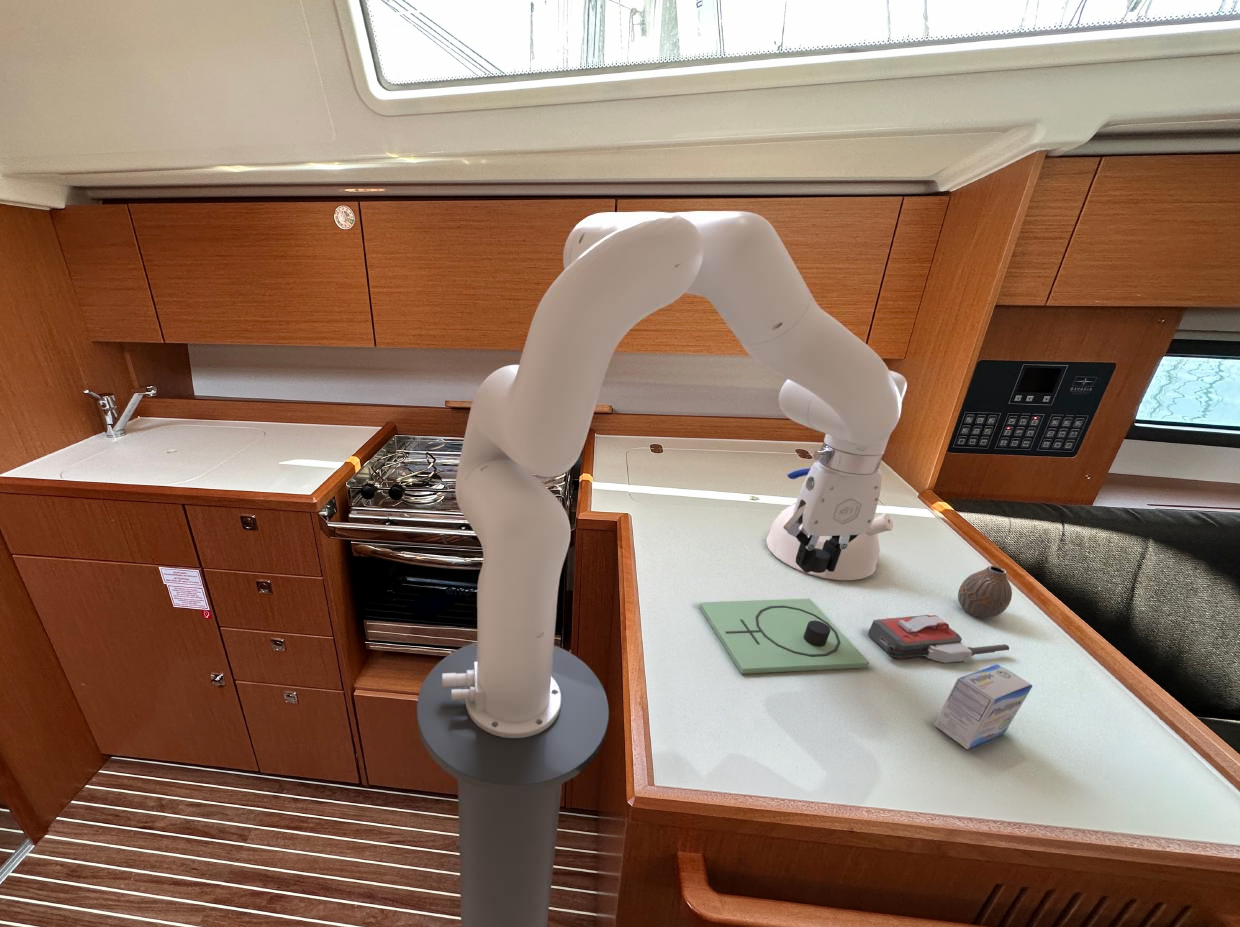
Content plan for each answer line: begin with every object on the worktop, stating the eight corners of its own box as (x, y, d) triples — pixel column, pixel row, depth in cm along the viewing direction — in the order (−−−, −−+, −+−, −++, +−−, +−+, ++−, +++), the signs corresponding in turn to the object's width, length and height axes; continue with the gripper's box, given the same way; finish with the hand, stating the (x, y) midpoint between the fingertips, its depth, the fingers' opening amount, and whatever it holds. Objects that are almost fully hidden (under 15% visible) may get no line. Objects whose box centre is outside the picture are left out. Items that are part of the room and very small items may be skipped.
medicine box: (966, 751, 71) (995, 701, 67) (932, 725, 74) (957, 676, 70) (1005, 734, 73) (1035, 685, 70) (970, 709, 77) (996, 661, 73)
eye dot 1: (810, 573, 86) (815, 559, 84) (799, 562, 88) (803, 548, 87) (829, 572, 86) (834, 558, 85) (818, 561, 89) (822, 547, 88)
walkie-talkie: (898, 671, 83) (1010, 658, 87) (909, 648, 81) (1023, 636, 85) (857, 633, 91) (961, 623, 94) (866, 611, 89) (972, 601, 92)
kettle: (850, 595, 101) (883, 506, 92) (746, 547, 115) (767, 466, 106) (893, 559, 112) (927, 477, 104) (794, 520, 126) (816, 444, 118)
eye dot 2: (810, 647, 86) (815, 634, 85) (799, 633, 89) (803, 620, 88) (830, 646, 86) (834, 633, 85) (818, 633, 89) (822, 620, 88)
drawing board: (741, 674, 82) (742, 668, 81) (698, 607, 96) (700, 602, 95) (867, 667, 84) (869, 662, 83) (808, 603, 98) (809, 598, 98)
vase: (1002, 629, 93) (1026, 585, 89) (953, 614, 97) (974, 572, 93) (998, 608, 99) (1020, 566, 95) (951, 595, 102) (970, 554, 98)
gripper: (809, 469, 75) (776, 583, 83) (922, 467, 76) (878, 579, 85) (780, 449, 81) (753, 556, 90) (885, 448, 83) (848, 553, 91)
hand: (814, 566), depth 87 cm, fingers closed on eye dot 1, 3 cm apart
